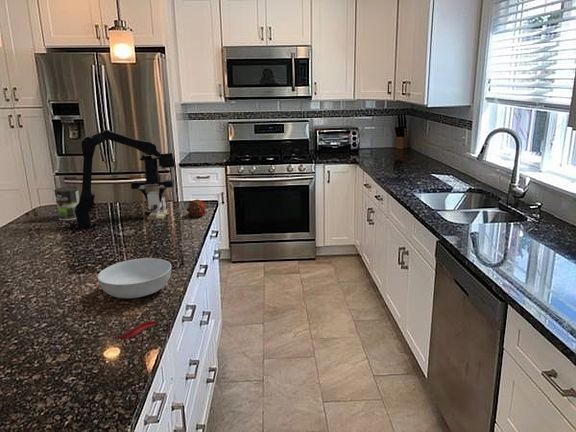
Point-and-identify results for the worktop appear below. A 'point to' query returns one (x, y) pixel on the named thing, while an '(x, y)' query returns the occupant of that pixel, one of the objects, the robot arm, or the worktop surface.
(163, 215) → the rail
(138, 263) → the serving bowl
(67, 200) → the grey green cylinder
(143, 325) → the cayenne pepper
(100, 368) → the worktop surface
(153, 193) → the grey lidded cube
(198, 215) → the dragon fruit
